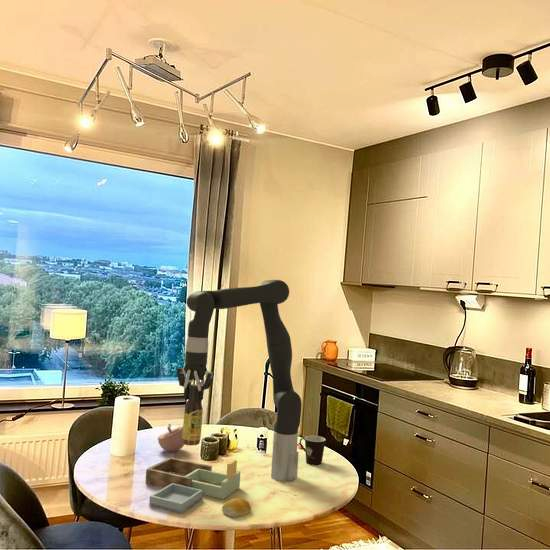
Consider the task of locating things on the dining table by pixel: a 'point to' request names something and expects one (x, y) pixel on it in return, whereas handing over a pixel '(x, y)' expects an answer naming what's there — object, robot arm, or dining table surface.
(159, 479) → the walnut bay
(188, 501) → the tray
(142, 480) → the dining table surface
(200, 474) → the caddy
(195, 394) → the sauce bottle
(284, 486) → the dining table surface
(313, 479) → the dining table surface
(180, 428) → the pinkish brown apple
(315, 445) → the coffee mug
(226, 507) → the bread roll
